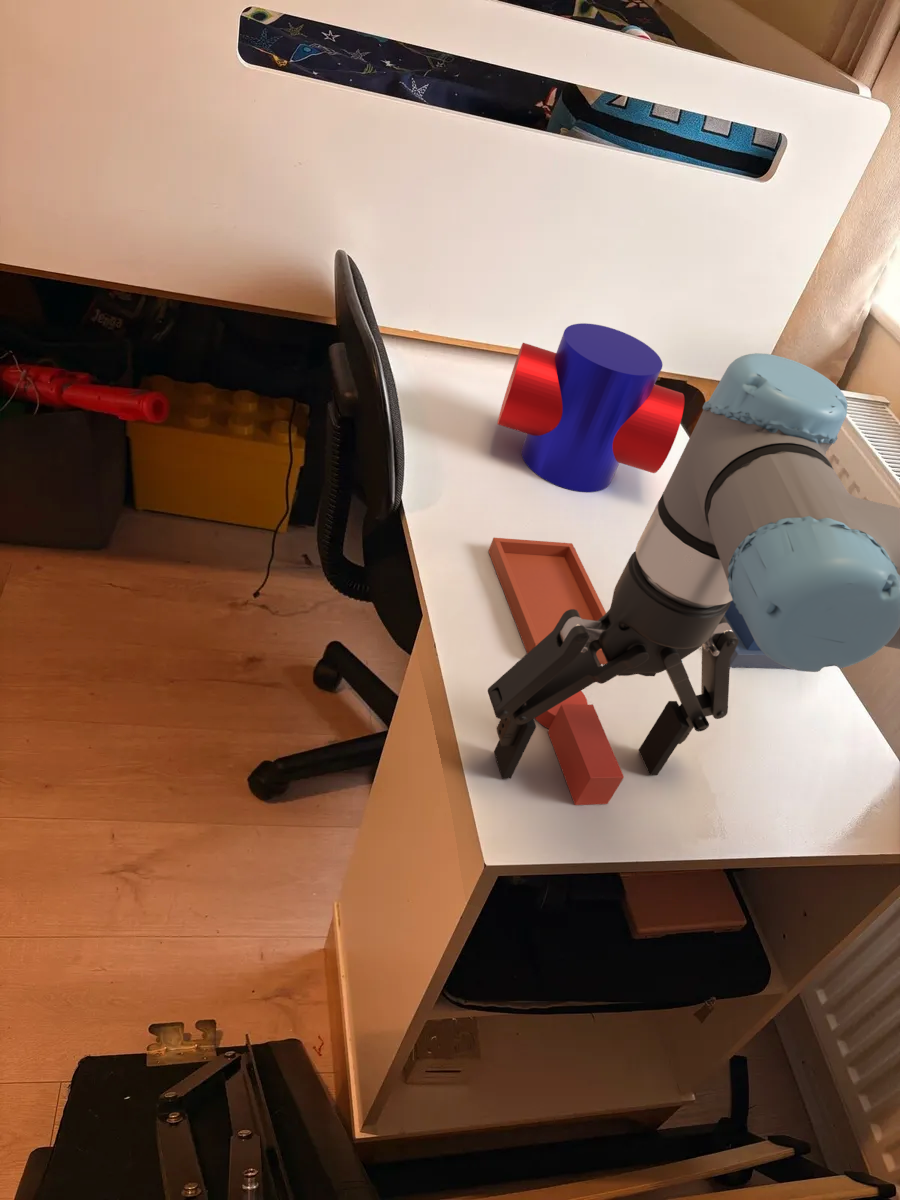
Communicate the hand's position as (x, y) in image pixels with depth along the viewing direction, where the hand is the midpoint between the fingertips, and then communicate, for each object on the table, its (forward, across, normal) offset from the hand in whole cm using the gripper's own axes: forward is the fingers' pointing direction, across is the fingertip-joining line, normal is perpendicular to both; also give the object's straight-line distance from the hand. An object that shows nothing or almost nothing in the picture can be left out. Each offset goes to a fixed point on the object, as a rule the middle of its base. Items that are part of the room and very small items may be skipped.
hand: (577, 764), depth 75 cm
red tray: (0, -4, -20) cm, 20 cm away
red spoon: (0, 0, -2) cm, 2 cm away
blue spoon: (0, -26, -20) cm, 33 cm away
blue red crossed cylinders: (+1, -15, -47) cm, 49 cm away
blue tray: (0, -26, -20) cm, 33 cm away
